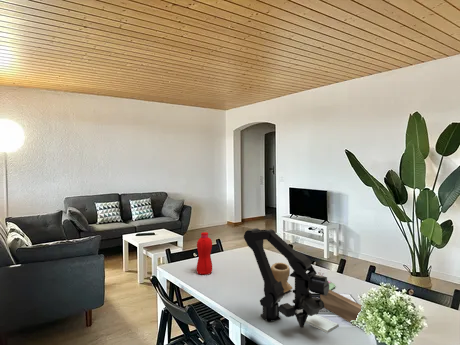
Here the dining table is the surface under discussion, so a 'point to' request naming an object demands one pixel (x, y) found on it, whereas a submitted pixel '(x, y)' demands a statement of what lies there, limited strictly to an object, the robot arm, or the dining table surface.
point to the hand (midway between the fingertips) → (301, 327)
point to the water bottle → (204, 254)
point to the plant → (331, 285)
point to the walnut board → (341, 305)
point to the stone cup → (282, 274)
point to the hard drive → (321, 323)
